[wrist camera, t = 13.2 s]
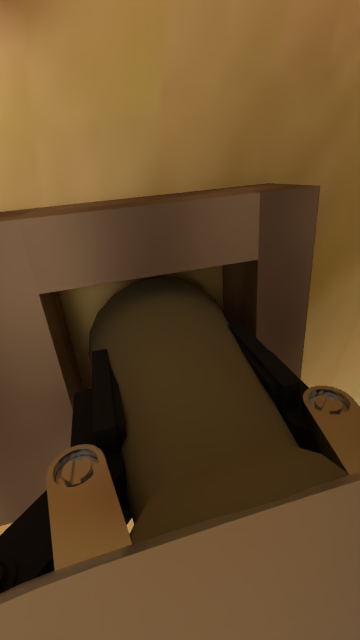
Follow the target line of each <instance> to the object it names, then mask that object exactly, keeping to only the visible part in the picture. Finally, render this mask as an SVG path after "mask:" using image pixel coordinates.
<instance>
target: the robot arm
mask: <svg viewBox="0 0 360 640" xmlns="http://www.w3.org/2000/svg"><path fill="white" fill-rule="evenodd" d="M228 327H229V328H230V330H231V331H232V333H233V335H234V337H235V339H236V341H237V343H238V345H239V347H240V349H241V351H242V353H243V354H244V356H245V357H246V359H247V360H248V362H249V364H250V365H251V367H252V368H253V370H254V371H255V373H256V375H257V376H258V378H259V379H260V381H261V382H262V384H263V386H264V387H265V389H266V390H267V392H268V393H269V395H270V397H271V399H272V400H273V402H274V404H275V406H276V407H277V409H278V411H279V413H280V414H281V416H282V418H283V420H284V421H285V423H286V425H287V427H288V428H289V430H290V432H291V434H292V435H293V437H294V439H295V441H296V443H297V444H298V446H299V448H302V449H305V450H309V451H313V452H316V453H320V454H322V455H324V456H325V457H326V458H328V459H329V460H330V461H332V462H333V463H334V464H336V465H337V466H338V467H340V468H341V469H342V470H344V471H345V472H346V473H348V474H349V476H346V477H342V478H339V479H336V480H333V481H329V482H326V483H323V484H320V485H316V486H314V487H311V488H309V489H306V490H304V491H302V492H299V493H297V494H294V495H292V496H289V497H287V498H284V499H280V500H277V501H274V502H270V503H267V504H263V505H260V506H257V507H253V508H250V509H246V510H243V511H240V512H236V513H233V514H229V515H224V516H220V517H215V518H212V519H209V520H206V521H203V522H200V523H197V524H194V525H191V526H188V527H184V528H181V529H178V530H175V531H172V532H169V533H166V534H163V535H160V536H157V537H153V538H150V539H147V540H144V541H141V542H138V543H135V544H132V542H131V539H130V535H129V532H128V529H127V526H126V525H127V524H128V522H129V521H130V520H131V518H132V514H131V511H130V507H129V503H128V499H127V496H126V482H125V475H124V468H123V461H122V455H121V447H122V445H123V443H124V441H125V439H126V437H127V436H126V430H125V423H124V417H123V410H122V404H121V397H120V391H119V385H118V383H117V381H116V378H115V376H114V373H113V371H112V368H111V366H110V364H109V358H108V351H107V349H102V350H97V351H92V389H88V390H84V391H79V392H75V393H74V402H73V416H72V430H71V444H70V448H69V449H67V450H65V451H63V452H62V453H60V454H59V455H58V456H57V457H56V458H55V459H54V460H53V461H52V462H51V464H50V466H49V468H48V470H47V473H46V485H47V490H46V491H45V492H44V493H43V494H42V495H41V496H40V497H39V498H38V499H37V500H36V501H35V502H34V503H33V504H32V505H31V506H30V507H29V508H28V509H27V510H26V511H25V512H24V513H23V514H22V515H20V516H19V517H18V518H17V519H16V520H15V521H14V522H13V523H12V524H11V525H10V526H9V527H8V528H7V529H6V530H5V531H4V532H3V533H2V534H1V535H0V640H360V406H359V405H358V404H357V403H356V402H355V400H354V399H353V398H352V397H351V396H350V395H348V394H347V393H345V392H344V391H342V390H340V389H337V388H334V387H329V386H315V387H311V388H308V387H307V386H306V385H305V384H304V383H303V382H302V381H301V380H300V379H299V378H298V377H297V376H296V375H295V374H294V373H293V372H292V371H291V370H290V369H289V368H288V367H287V366H286V365H285V364H284V363H283V362H282V361H281V360H280V359H279V358H278V357H277V356H276V355H275V354H274V353H273V352H271V351H269V350H268V349H267V348H266V347H265V346H264V345H263V344H262V343H261V342H260V341H259V340H258V339H257V338H256V337H255V336H254V335H253V334H252V333H251V332H250V331H249V330H248V329H247V328H246V327H245V326H244V325H243V324H242V323H236V324H231V325H228Z"/></svg>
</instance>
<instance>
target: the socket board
mask: <svg viewBox="0 0 360 640" xmlns="http://www.w3.org/2000/svg"><path fill="white" fill-rule="evenodd" d="M319 192H320V186H313V185H291V184H260V185H251V186H241V187H232V188H222V189H213V190H204V191H194V192H185V193H175V194H166V195H157V196H147V197H138V198H128V199H119V200H110V201H100V202H91V203H82V204H72V205H63V206H53V207H44V208H35V209H25V210H16V211H6V212H0V526H2V525H5V524H9V523H12V522H14V521H15V520H16V519H17V518H18V517H19V516H20V515H22V514H23V513H24V512H25V511H26V510H27V509H28V508H29V507H30V506H31V505H32V504H33V503H34V502H35V501H36V500H37V499H38V498H39V497H40V496H41V495H42V494H43V493H44V492H45V491H46V490H47V485H46V473H47V470H48V468H49V466H50V464H51V462H52V461H53V460H54V459H55V458H56V457H57V456H58V455H59V454H60V453H62V452H63V451H65V450H67V449H69V448H70V444H71V430H72V416H73V402H74V393H75V392H79V391H84V390H83V386H82V382H81V378H80V375H79V371H78V367H77V363H76V360H75V356H74V352H73V348H72V344H71V341H70V337H69V333H68V329H67V326H66V322H65V318H64V314H63V311H62V307H61V303H60V299H59V295H58V292H57V291H62V290H68V289H74V288H81V287H87V286H94V285H100V284H106V283H113V282H119V281H125V280H132V279H138V278H145V277H151V276H157V275H164V274H170V273H177V272H183V271H189V270H196V269H202V268H208V267H215V266H221V265H223V301H224V316H225V318H226V320H227V322H228V323H229V325H231V324H236V323H242V324H243V325H244V326H245V327H246V328H247V329H248V330H249V331H250V332H251V333H252V334H253V335H254V336H255V337H256V338H257V339H258V340H259V341H260V342H261V343H262V344H263V345H264V346H265V347H266V348H267V349H268V350H269V351H271V352H273V353H274V354H275V355H276V356H277V357H278V358H279V359H280V360H281V361H282V362H283V363H284V364H285V365H286V366H287V367H288V368H289V369H290V370H291V371H292V372H293V373H294V374H295V375H296V376H297V377H298V378H299V379H300V377H301V368H302V358H303V348H304V338H305V329H306V319H307V309H308V299H309V290H310V280H311V270H312V260H313V250H314V241H315V231H316V221H317V211H318V202H319Z"/></svg>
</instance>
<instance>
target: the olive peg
mask: <svg viewBox="0 0 360 640" xmlns="http://www.w3.org/2000/svg"><path fill="white" fill-rule="evenodd" d="M228 325H229V323H228V322H227V320H226V318H225V316H224V315H223V313H222V311H221V309H220V308H219V306H218V304H217V302H216V301H215V300H214V299H213V298H212V297H211V296H210V295H209V294H208V293H207V292H206V291H204V290H203V289H202V288H201V287H199V286H197V285H194V284H192V283H190V282H187V281H185V280H183V279H174V278H162V277H158V278H153V279H149V280H145V281H140V282H136V283H134V284H132V285H130V286H129V287H127V288H125V289H123V290H122V291H120V292H118V293H117V294H115V295H114V296H113V297H112V298H111V299H110V300H109V301H108V302H107V303H106V304H105V306H104V307H103V308H102V309H101V310H100V311H99V312H98V314H97V317H96V319H95V321H94V324H93V326H92V328H91V330H90V333H89V353H88V354H89V357H90V361H91V365H92V351H97V350H102V349H107V351H108V358H109V364H110V366H111V368H112V371H113V373H114V376H115V378H116V381H117V383H118V385H119V391H120V397H121V404H122V410H123V417H124V423H125V430H126V436H127V437H126V439H125V441H124V443H123V445H122V447H121V455H122V461H123V468H124V475H125V482H126V496H127V499H128V503H129V507H130V511H131V514H132V518H133V522H134V527H133V529H132V530H131V532H130V534H129V535H130V539H131V542H132V544H135V543H138V542H141V541H144V540H147V539H150V538H153V537H157V536H160V535H163V534H166V533H169V532H172V531H175V530H178V529H181V528H184V527H188V526H191V525H194V524H197V523H200V522H203V521H206V520H209V519H212V518H215V517H220V516H224V515H229V514H233V513H236V512H240V511H243V510H246V509H250V508H253V507H257V506H260V505H263V504H267V503H270V502H274V501H277V500H280V499H284V498H287V497H289V496H292V495H294V494H297V493H299V492H302V491H304V490H306V489H309V488H311V487H314V486H316V485H320V484H323V483H326V482H329V481H333V480H336V479H339V478H342V477H346V476H349V474H348V473H346V472H345V471H344V470H342V469H341V468H340V467H338V466H337V465H336V464H334V463H333V462H332V461H330V460H329V459H328V458H326V457H325V456H324V455H322V454H320V453H316V452H313V451H309V450H305V449H302V448H299V446H298V444H297V443H296V441H295V439H294V437H293V435H292V434H291V432H290V430H289V428H288V427H287V425H286V423H285V421H284V420H283V418H282V416H281V414H280V413H279V411H278V409H277V407H276V406H275V404H274V402H273V400H272V399H271V397H270V395H269V393H268V392H267V390H266V389H265V387H264V386H263V384H262V382H261V381H260V379H259V378H258V376H257V375H256V373H255V371H254V370H253V368H252V367H251V365H250V364H249V362H248V360H247V359H246V357H245V356H244V354H243V353H242V351H241V349H240V347H239V345H238V343H237V341H236V339H235V337H234V335H233V333H232V331H231V330H230V328H229V327H228Z"/></svg>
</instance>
